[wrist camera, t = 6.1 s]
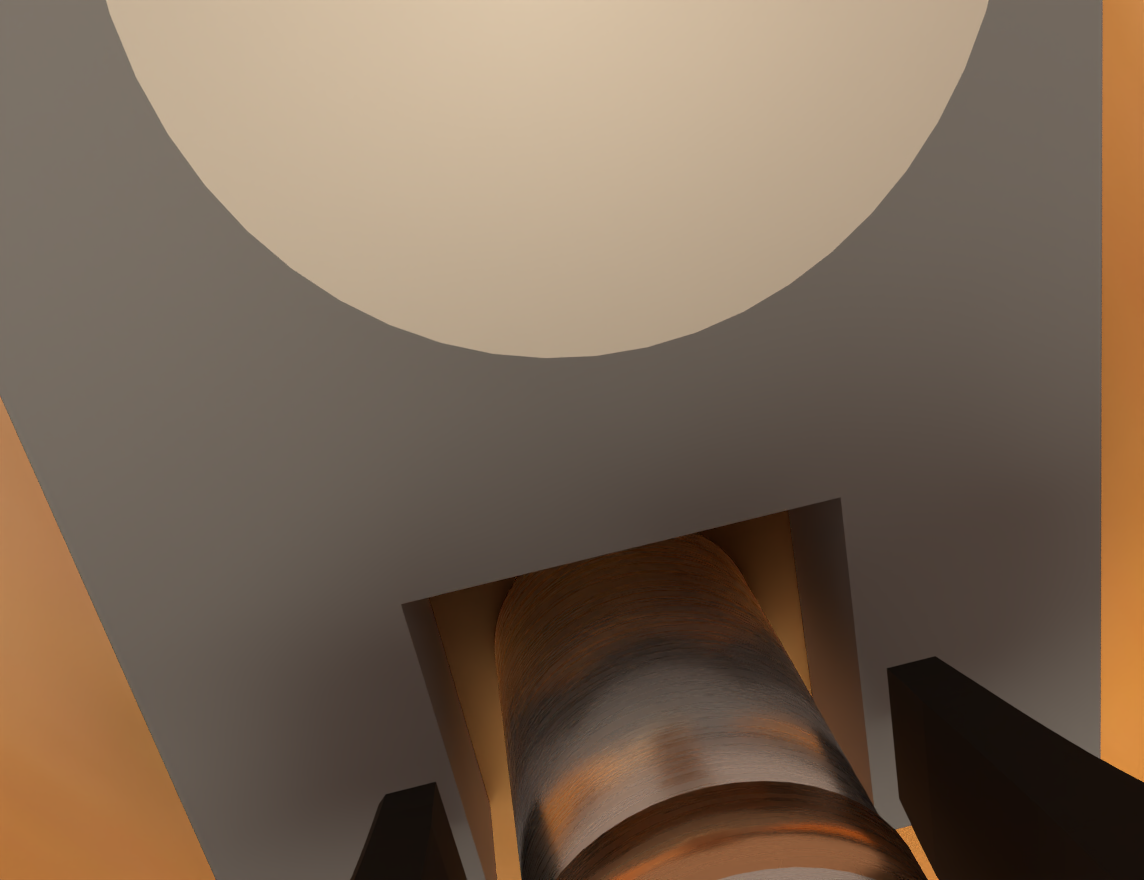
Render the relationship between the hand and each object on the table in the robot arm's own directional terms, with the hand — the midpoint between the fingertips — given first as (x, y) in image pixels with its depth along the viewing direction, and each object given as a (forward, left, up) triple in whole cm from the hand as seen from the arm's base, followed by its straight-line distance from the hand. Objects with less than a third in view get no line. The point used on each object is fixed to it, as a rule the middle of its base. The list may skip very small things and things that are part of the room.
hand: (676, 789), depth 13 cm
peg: (0, 0, -4) cm, 4 cm away
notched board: (+4, +3, -4) cm, 6 cm away
